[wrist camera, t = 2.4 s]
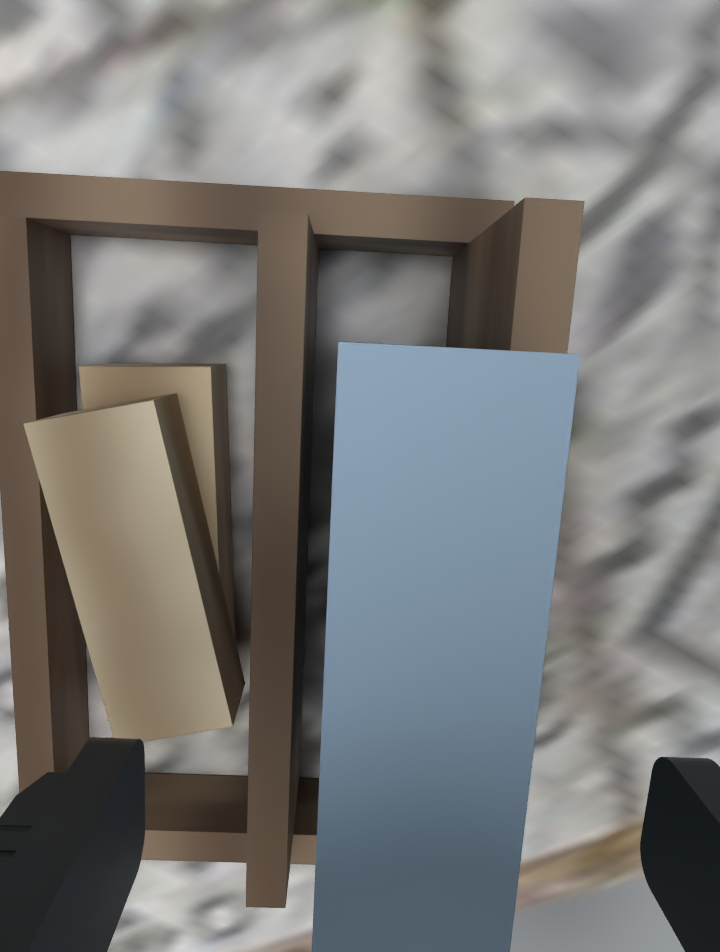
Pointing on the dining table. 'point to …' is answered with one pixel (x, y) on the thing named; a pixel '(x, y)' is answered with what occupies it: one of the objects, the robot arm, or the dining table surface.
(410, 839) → the tall panel
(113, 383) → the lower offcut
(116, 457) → the upper offcut
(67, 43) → the dining table surface
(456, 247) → the rack
